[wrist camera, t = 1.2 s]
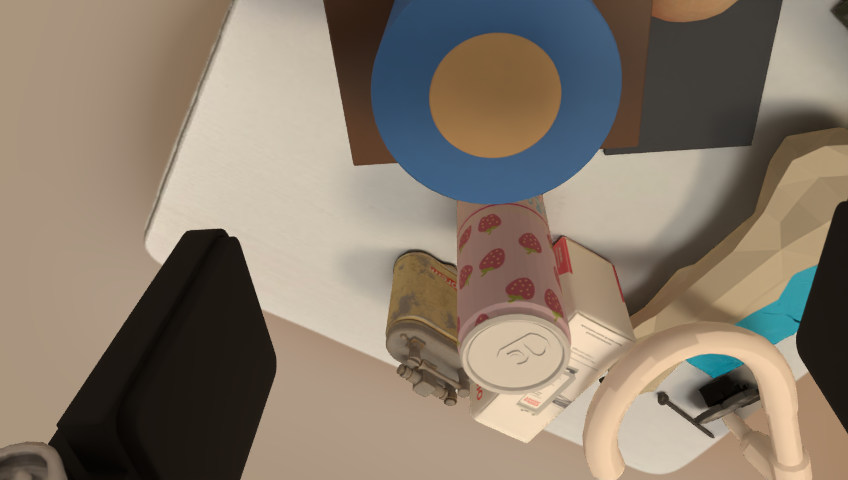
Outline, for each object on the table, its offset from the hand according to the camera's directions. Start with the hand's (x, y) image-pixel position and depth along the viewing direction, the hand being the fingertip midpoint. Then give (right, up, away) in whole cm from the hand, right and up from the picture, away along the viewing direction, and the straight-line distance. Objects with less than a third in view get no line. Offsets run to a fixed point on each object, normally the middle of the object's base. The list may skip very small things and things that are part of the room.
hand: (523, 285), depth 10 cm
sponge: (+27, -7, +37) cm, 46 cm away
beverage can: (+4, +4, +32) cm, 33 cm away
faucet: (+21, -22, +41) cm, 51 cm away
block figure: (+21, -14, +42) cm, 49 cm away
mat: (+14, +10, +27) cm, 32 cm away
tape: (0, +7, +9) cm, 12 cm away
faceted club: (+18, 0, +34) cm, 38 cm away
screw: (+21, -15, +43) cm, 50 cm away
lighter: (-1, -2, +37) cm, 37 cm away
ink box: (+10, -2, +31) cm, 32 cm away
